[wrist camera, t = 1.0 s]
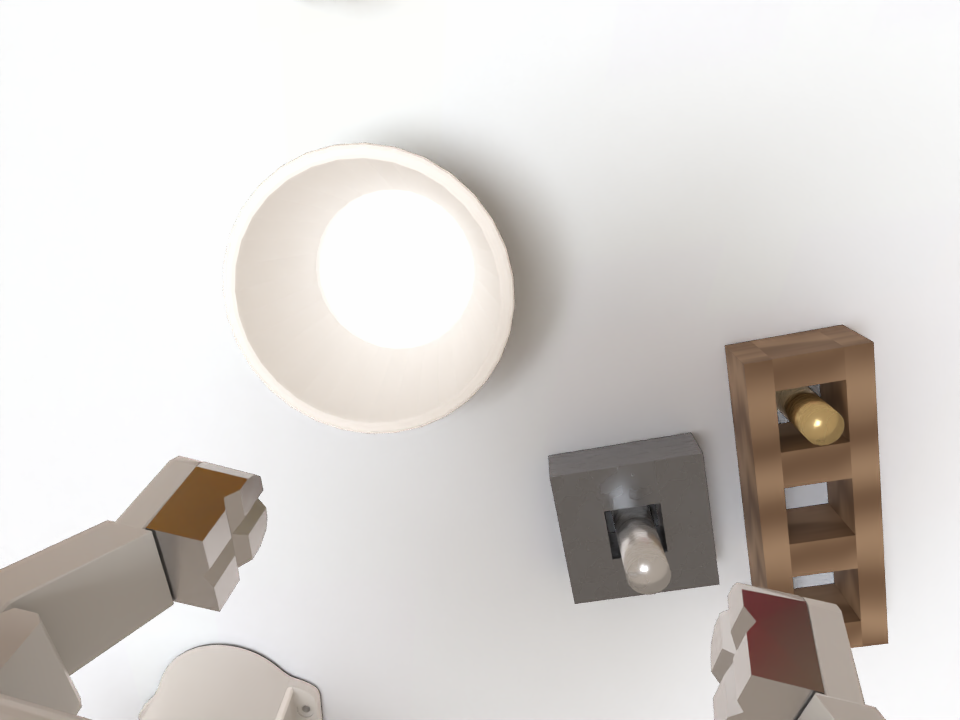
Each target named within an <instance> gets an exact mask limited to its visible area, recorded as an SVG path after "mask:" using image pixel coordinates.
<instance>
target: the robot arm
mask: <svg viewBox="0 0 960 720" xmlns="http://www.w3.org/2000/svg"><path fill="white" fill-rule="evenodd" d="M262 491H263V486H262V481H261V477H260V476H258V475H255V474H251V473H247V472H243V471H239V470H235V469H231V468H227V467H223V466H219V465H216V464H212V463H208V462H203V461H199V460H195V459H190V458H186V457H182V456H177V457H176V458H174V459H172V460H170V461H169V462H168V463H167V464H166V465H165V466H164V467H163V468H162V470H161V471H160V472H159V473H158V474H157V475H156V476H155V478H154V479H153V480H152V481H151V482H150V483H149V484H148V485H147V487H146V488H145V489H144V490H143V491H142V492H141V493H140V494H139V496H138V497H137V498H136V499H135V500H134V501H133V502H132V503H131V505H130V506H129V507H128V508H127V509H126V510H125V511H124V512H123V514H122V515H121V516H120V517H119V518H118V519H117V520H116V522H114V521H109V520H107V521H105V522H102V523H100V524H98V525H96V526H94V527H92V528H89V529H87V530H85V531H83V532H81V533H78V534H76V535H74V536H72V537H70V538H68V539H65V540H63V541H61V542H59V543H57V544H55V545H52V546H50V547H48V548H46V549H44V550H42V551H39V552H37V553H35V554H33V555H31V556H28V557H26V558H24V559H22V560H20V561H18V562H15V563H13V564H11V565H9V566H7V567H5V568H2V569H0V720H91V719H88V718H84V717H81V716H77V713H78V712H79V710H80V709H81V707H82V704H81V698H80V696H79V694H78V692H77V690H76V688H75V686H74V684H73V682H72V680H71V678H70V675H71V674H73V673H74V672H76V671H77V670H79V669H80V668H82V667H83V666H85V665H86V664H87V663H89V662H90V661H92V660H93V659H95V658H96V657H98V656H99V655H101V654H102V653H103V652H105V651H106V650H108V649H109V648H111V647H112V646H114V645H115V644H117V643H118V642H119V641H121V640H122V639H124V638H125V637H127V636H128V635H130V634H131V633H133V632H134V631H135V630H137V629H138V628H140V627H141V626H143V625H144V624H146V623H147V622H149V621H150V620H151V619H153V618H154V617H156V616H157V615H159V614H160V613H162V612H163V611H165V610H166V609H168V608H169V607H170V606H172V605H173V604H174V602H173V601H175V602H179V603H184V604H188V605H193V606H197V607H201V608H206V609H210V610H215V611H219V612H220V611H221V609H222V607H223V606H224V604H225V603H226V601H227V600H228V598H229V596H230V595H231V593H232V592H233V590H234V588H235V587H236V585H237V584H238V582H239V580H240V578H239V571H238V567H240V566H242V565H243V564H245V563H247V562H249V561H250V560H252V559H253V558H254V556H255V555H256V553H257V551H258V550H259V548H260V546H261V544H262V541H263V538H264V535H265V532H266V527H267V511H266V507H265V506H264V505H263V504H262V502H261V501H260V500H259V499H258V497H259V496H260V494H261V493H262ZM728 607H729V609H728V610H726V611H723V612H721V613H720V614H719V616H718V619H717V621H716V624H715V626H714V631H713V636H712V641H711V672H712V673H713V675H714V676H715V677H716V679H717V680H718V682H719V683H720V685H719V687H718V689H717V691H716V693H715V695H714V697H713V708H714V720H886V719H885V718H884V717H883V716H882V714H881V713H880V712H879V711H878V710H877V709H876V707H872V706H869V705H865V702H864V698H863V694H862V690H861V687H860V683H859V679H858V675H857V671H856V667H855V663H854V659H853V655H852V651H851V647H850V643H849V639H848V635H847V631H846V628H845V624H844V620H843V616H842V612H841V610H840V609H839V607H838V606H837V604H832V603H828V602H823V601H819V600H814V599H810V598H805V597H800V596H799V595H794V594H789V593H785V592H780V591H775V590H771V589H766V588H761V587H757V586H752V585H747V584H742V583H738V582H737V583H736V584H735V585H733V586H732V588H731V590H730V592H729V594H728ZM307 706H309V707H307ZM138 719H139V720H322V710H321V700H320V693H319V691H318V689H317V688H316V687H315V686H313V685H312V684H310V683H307V682H305V681H302V680H300V679H297V678H294V677H291V676H289V675H287V674H286V673H285V672H283V671H282V670H281V669H279V668H278V667H277V666H276V665H274V664H273V663H272V662H270V661H269V660H267V659H265V658H264V657H262V656H260V655H258V654H256V653H254V652H251V651H249V650H246V649H242V648H239V647H234V646H227V645H208V646H202V647H197V648H194V649H191V650H189V651H187V652H185V653H183V654H181V655H179V656H178V657H177V658H175V659H174V660H173V661H172V662H171V663H170V664H169V666H168V667H167V668H166V670H165V671H164V673H163V675H162V678H161V681H160V683H159V686H158V689H157V691H156V693H155V695H154V696H153V697H152V698H150V699H149V700H148V701H147V702H146V704H145V705H144V706H143V708H142V710H141V712H140V714H139V717H138Z"/></svg>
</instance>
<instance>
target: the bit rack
mask: <svg viewBox="0 0 960 720" xmlns="http://www.w3.org/2000/svg"><path fill="white" fill-rule="evenodd" d="M725 352H726V360H727V369H728V378H729V387H730V396H731V405H732V414H733V423H734V431H735V440H736V449H737V458H738V467H739V476H740V485H741V494H742V503H743V511H744V520H745V529H746V538H747V547H748V556H749V565H750V574H751V582H752V586H757V587H761V588H766V589H771V590H775V591H780V592H785V593H789V594H794V595H799V596H800V597H805V598H810V599H814V600H819V601H823V602H828V603H832V604H837V606H838V607H839V609H840V610H841V612H842V616H843V620H844V624H845V628H846V631H847V635H848V639H849V643H850V647H851V648H854V647H863V646H871V645H879V644H887V643H888V628H887V608H886V588H885V567H884V547H883V526H882V506H881V485H880V465H879V444H878V424H877V403H876V383H875V362H874V342H873V341H871V340H869V339H867V338H865V337H864V336H862V335H860V334H858V333H856V332H855V331H853V330H851V329H849V328H847V327H846V326H844V325H838V326H833V327H827V328H821V329H816V330H810V331H804V332H799V333H793V334H787V335H782V336H776V337H770V338H765V339H759V340H753V341H748V342H742V343H736V344H731V345H725ZM817 384H820V393H821V399H823V400H824V401H825V402H826V403H827V404H829V405H830V406H831V407H832V408H833V409H834V410H836V411H837V412H838V413H839V414H840V415H841V416H842V417H843V419H844V424H845V427H844V431H843V433H842V435H841V436H840V438H839V439H838V440H836V441H835V442H833V443H831V444H828V445H815V444H813V443H811V442H810V441H808V440H807V438H806V437H805V436H804V435H803V434H802V433H801V432H800V431H799V430H798V429H797V428H796V427H795V426H794V425H793V424H792V423H791V422H788V423H782V424H778V416H777V405H776V395H775V391H781V390H787V389H793V388H799V387H805V386H811V385H817ZM822 482H827V489H828V504H822V505H815V506H808V507H801V508H794V509H787V510H786V502H785V492H784V488H789V487H796V486H802V485H809V484H816V483H822ZM827 572H834V584H827V585H820V586H812V587H805V588H797V589H793V578H792V577H797V576H804V575H812V574H819V573H827Z"/></svg>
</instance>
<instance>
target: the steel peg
mask: <svg viewBox="0 0 960 720" xmlns="http://www.w3.org/2000/svg"><path fill="white" fill-rule="evenodd" d="M611 514H612V518H613V523H614V527H615V531H616V535H617V540H618V544H619V548H620V553H621V557H622V561H623V565H624V570H625V574H626V578H627V582H628V584H629V586H630V587H631V588H632V589H633V590H635V591H636V592H638V593H641V594H655V593H658V592H660V591H662V590H663V589H665V588H666V587H667V585H668V584H669V582H670V579H671V571H670V568H669V565H668V562H667V559H666V556H665V553H664V550H663V547H662V544H661V541H660V538H659V536H658V533H657V530H656V527H655V524H654V521H653V518H652V515H651V512H650V509H649V506H648V505H644V506H638V507H631V508H624V509H618V510H611Z"/></svg>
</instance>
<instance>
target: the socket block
mask: <svg viewBox="0 0 960 720" xmlns="http://www.w3.org/2000/svg"><path fill="white" fill-rule="evenodd" d="M548 460H549V474H550V481H551V486H552V491H553V496H554V501H555V506H556V511H557V516H558V521H559V526H560V531H561V536H562V541H563V546H564V552H565V557H566V562H567V567H568V572H569V577H570V582H571V587H572V592H573V597H574V602H575V604H578V603H585V602H592V601H600V600H607V599H615V598H622V597H629V596H637V595H644V594H641V593H638V592H636V591H635V590H633V589H632V588H631V587H630V586H629V584H628V582H627V578H626V574H625V570H624V565H623V561H622V557H621V553H620V548H619V544H618V540H617V535H616V532H613V533H608V531H607V525H606V520H605V514H604V511H611V510H618V509H624V508H631V507H638V506H644V505H651V504H655V506H656V512H657V519H658V525H659V526H655V527H656V530H657V533H658V536H659V538H660V541H661V544H662V547H663V550H664V553H665V556H666V559H667V562H668V565H669V568H670V571H671V579H670V582H669V584H668V585H667V587H666V588H665V589H663V590H662V591H660V592H666V591H674V590H681V589H688V588H696V587H703V586H711V585H718V584H719V576H718V568H717V561H716V553H715V545H714V537H713V529H712V522H711V514H710V506H709V498H708V490H707V483H706V475H705V467H704V459H703V453H702V451H701V449H700V448H699V446H698V444H697V442H696V441H695V439H694V437H693V436H692V434H691V433H686V434H680V435H674V436H667V437H661V438H655V439H649V440H643V441H637V442H630V443H624V444H618V445H612V446H606V447H600V448H594V449H587V450H581V451H575V452H569V453H563V454H557V455H551V456H548ZM658 593H659V592H658Z"/></svg>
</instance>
